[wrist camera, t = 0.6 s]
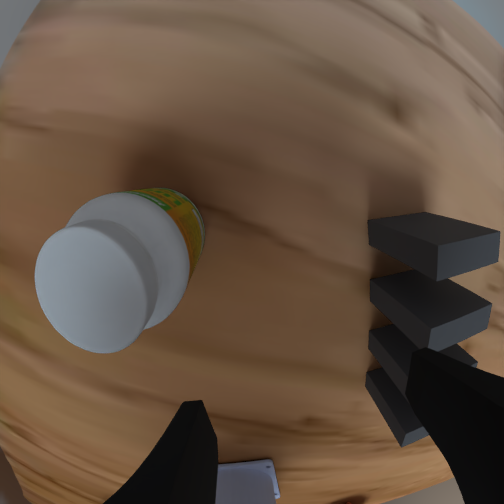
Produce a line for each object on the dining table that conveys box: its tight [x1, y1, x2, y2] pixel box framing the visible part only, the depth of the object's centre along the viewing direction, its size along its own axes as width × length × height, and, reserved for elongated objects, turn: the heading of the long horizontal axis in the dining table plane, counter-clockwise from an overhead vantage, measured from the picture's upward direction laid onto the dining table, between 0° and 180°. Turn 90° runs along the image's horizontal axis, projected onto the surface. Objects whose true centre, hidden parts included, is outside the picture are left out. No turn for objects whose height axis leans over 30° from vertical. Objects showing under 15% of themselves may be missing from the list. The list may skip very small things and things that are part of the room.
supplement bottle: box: [35, 188, 205, 353], centre depth 12 cm, size 5×5×10 cm
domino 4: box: [365, 367, 429, 447], centre depth 17 cm, size 2×5×7 cm, turn 99°
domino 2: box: [370, 269, 492, 352], centre depth 15 cm, size 2×5×7 cm, turn 99°
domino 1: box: [368, 212, 500, 282], centre depth 14 cm, size 2×5×7 cm, turn 98°
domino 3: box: [368, 324, 478, 406], centre depth 16 cm, size 2×5×7 cm, turn 98°
